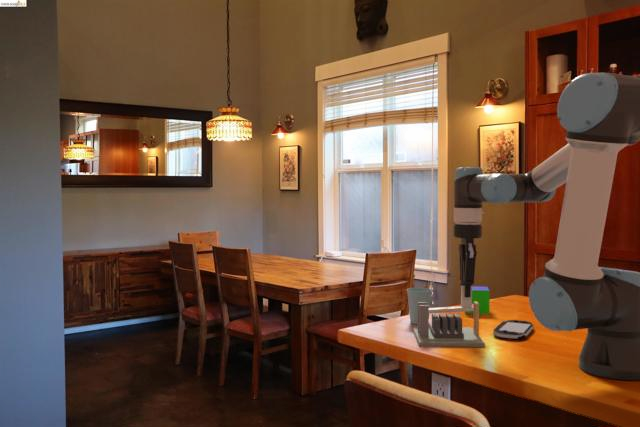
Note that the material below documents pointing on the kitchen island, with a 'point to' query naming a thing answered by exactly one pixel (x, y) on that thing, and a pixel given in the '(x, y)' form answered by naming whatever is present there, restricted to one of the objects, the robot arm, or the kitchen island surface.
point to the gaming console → (513, 330)
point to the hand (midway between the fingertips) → (466, 308)
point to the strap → (450, 309)
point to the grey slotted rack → (446, 329)
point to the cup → (415, 297)
